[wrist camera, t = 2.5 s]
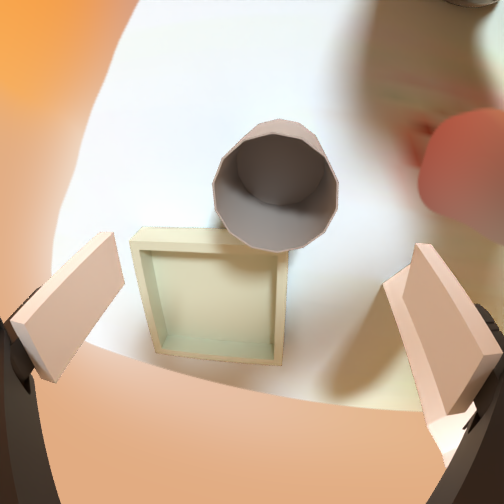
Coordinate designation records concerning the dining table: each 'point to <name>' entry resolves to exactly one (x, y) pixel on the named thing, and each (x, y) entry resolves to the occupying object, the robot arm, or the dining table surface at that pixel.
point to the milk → (425, 375)
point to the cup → (276, 188)
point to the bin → (211, 294)
